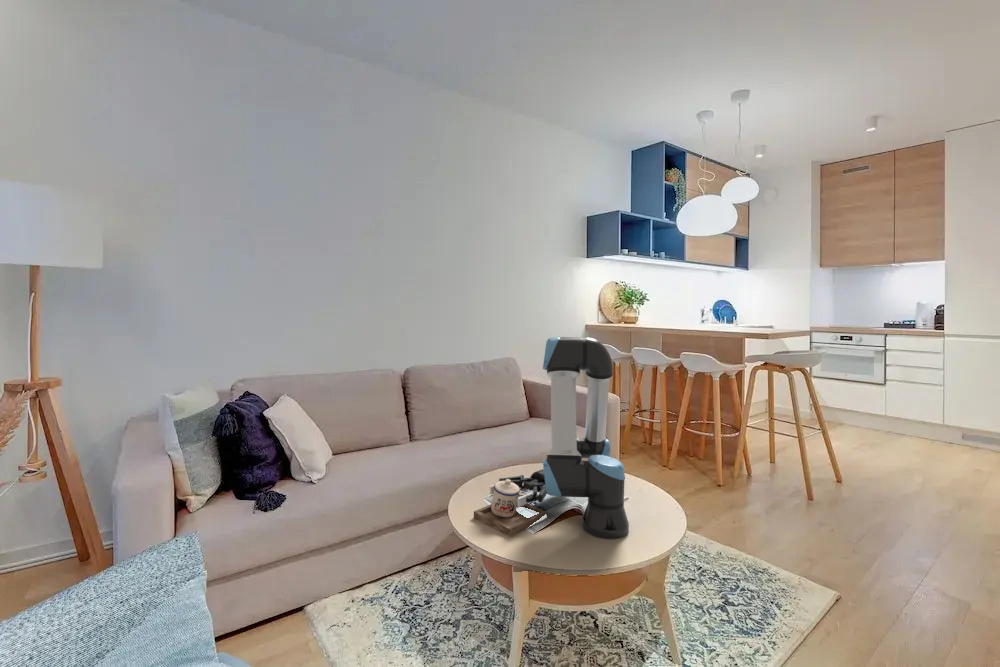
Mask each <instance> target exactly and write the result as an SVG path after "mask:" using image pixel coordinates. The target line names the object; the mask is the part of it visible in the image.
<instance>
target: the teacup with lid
mask: <svg viewBox="0 0 1000 667" xmlns="http://www.w3.org/2000/svg"><path fill="white" fill-rule="evenodd" d="M493 485H494V494H492V501H491V504H492V506H491V510H492V512H493V513H494V514H496V515H498V516H500V517H511V516H513V515H514V514H515V512H516V507H518V504H517V500H518V498H519V497H522V496H524V495H525V493H521V492H520V491H521V488H519V487H518V486H517V485H516V484H515V483H512V482H511V480H509V479H506V480H505V481H499V480H498V481H496V482H495V484H493ZM522 506H524V505H522ZM522 506H520V507H522Z"/></svg>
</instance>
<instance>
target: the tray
mask: <svg viewBox="0 0 1000 667" xmlns="http://www.w3.org/2000/svg"><path fill="white" fill-rule="evenodd" d="M517 504H518V500H517ZM491 506H492V503H491V504H488V505H486V506H483V507H481V508H478V509H476V510H473V519H475V520H477V521H478V522H480V523H483V524H485V525H487V526H488V527H489V526H490V527H491V528H493V529H495V530H497V531H499V532H501V533H503V534H505V535H506V536H509V537H510V536H511V537H513V536H515V535H517V534H519V533H521V532H523V531H525V530H528V529H529V528H530V527H529V526H530V525H532V524H533V523H534V522H536V521H537V520H539V519H540V518H541V517H542V516H544V515H545V514H546V513H547V514H548V511H546V510H543V509H541V508H539V507H536V506H533V505H532V504H530V503H527V504H525V505H524V506H522V507H525V508H528V509H531V510H534V511H536V512H539V514H537V515H534V516H532V517H530V518H526V517H524V516H523V515H521V514H519V513H518V512H517V511H516V512H515V514H514V515H513V516H511V517H500V516H498V515H496V514H494V513H493V512H492V510H491ZM528 527H529V528H528Z"/></svg>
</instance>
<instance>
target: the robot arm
mask: <svg viewBox="0 0 1000 667" xmlns="http://www.w3.org/2000/svg"><path fill="white" fill-rule="evenodd" d="M542 370H544V371H546V375H547V377H548V378H550V387H551V388H550V396H551V397H550V402H551V403H550V421H551V422H550V428H551V429H550V430H551V431H550V434H551V436H550V437H551V438H550V440H551V441H550V442H551V443H550V445H551V449H550V450H549V451H548V452H547V453H546V458H544V459H543V460H542V469H539V470H537V471H535V472H533V473H532V474H531V475H530V477H526V478H525V476H524V475H523V474H521V475H518V476H511V477H500V478H499V479H498V482H499V481H505V480H506V479H509V480H511V482H512V483H515V484H516V485H517V486H518V487H519V489H520V490H526V489H527V490H529V491H532V492H528V493H526V494H524V496H518V507H520V506H522V505H525V504H530V503H532V502H539V503H542V502H544V499H545V498H546V497H547V496H546V495H547V494H548V496H550V497H551V496H552V497H559V498H587V504H586V507H585V510H584V512H583V516H582V518H581V519H582V520H581V522H582V523H581V525H582V529H583V530H584V531H585V532H586V533H587V534H590V535H591V536H595V537H597V538H601V537H603V538H602V539H618V537H620V538H623V537H625V536H626V535H627V534H628V533H629V531H630V530H629V529H630V522H629V521H628V516H627V513H626V510H625V499H624V498H625V480H626V476H625V475H626V474H625V465H624V464H623V463H622V462H621V461H620V460H619V459H616V458H615V457H611V442H610V440H609V439H607V438H606V431H607V420H608V419H607V417H608V406H609V391H610V390H609V389H610V379H612V378H613V376H614V375H613V374H614V362H613V360H612V357H611V353H610V352H609V350H608V349H607V348H606V347H605V345H604V344H603V343H602V342H601V341H599V340H597V339H595V338H593V337H588V336H586V337H583V336H582V337H577V336H576V337H574V336H573V337H572V336H558V337H557V336H556V337H555V336H554V337H548V338H547V340H546V342H545V349H544V356H543V365H542ZM581 371H585V375H586V377H587V391H586V392H587V394H586V395H587V396H586V411H585V412H586V413H585V415H586V416H585V427H584V428H585V432H584V437H582V438H579V437H577V436H578V434H577V431H578V430H577V381H576V380H577V379H578V378H579V377H580V375H581ZM583 459H588V460H583ZM494 485H495V484H492V485H489V495H493V494H494ZM538 493H539V494H538ZM624 535H625V536H624ZM622 536H623V537H622Z"/></svg>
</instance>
